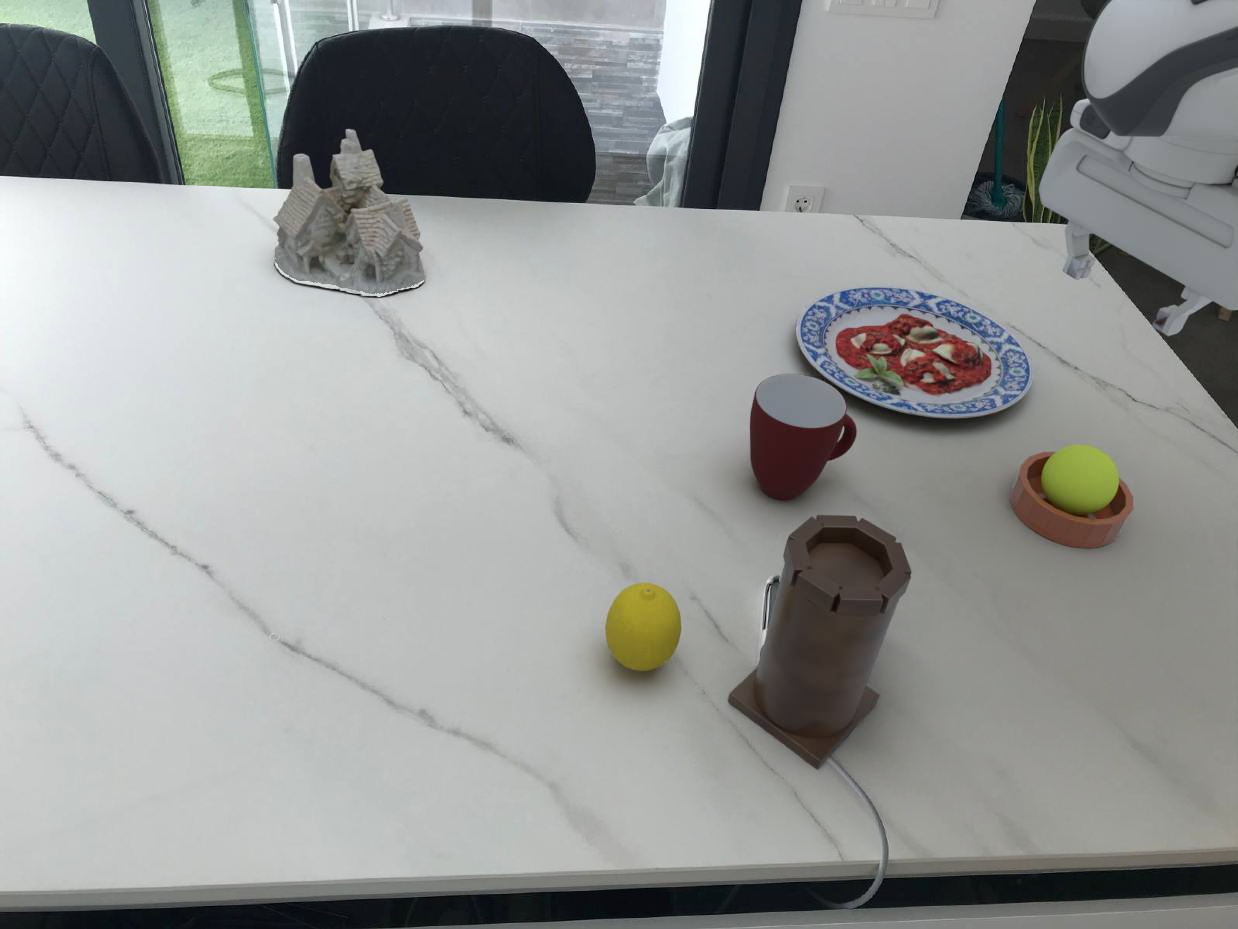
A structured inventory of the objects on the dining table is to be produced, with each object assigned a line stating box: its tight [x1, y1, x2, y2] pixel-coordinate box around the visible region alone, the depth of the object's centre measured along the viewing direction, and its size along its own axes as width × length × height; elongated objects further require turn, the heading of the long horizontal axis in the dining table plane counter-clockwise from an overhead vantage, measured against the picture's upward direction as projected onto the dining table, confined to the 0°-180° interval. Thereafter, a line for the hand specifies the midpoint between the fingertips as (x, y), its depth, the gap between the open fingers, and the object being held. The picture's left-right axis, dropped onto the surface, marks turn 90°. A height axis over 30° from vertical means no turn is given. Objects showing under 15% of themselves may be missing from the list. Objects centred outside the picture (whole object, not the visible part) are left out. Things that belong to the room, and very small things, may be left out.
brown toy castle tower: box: [727, 514, 913, 770], centre depth 67 cm, size 8×8×16 cm
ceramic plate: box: [795, 285, 1034, 419], centre depth 108 cm, size 26×26×3 cm
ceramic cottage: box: [272, 128, 426, 294], centre depth 111 cm, size 16×16×15 cm
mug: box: [749, 373, 858, 501], centre depth 88 cm, size 11×8×10 cm
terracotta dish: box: [1009, 451, 1134, 549], centre depth 90 cm, size 10×10×3 cm
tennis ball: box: [1041, 444, 1120, 515], centre depth 89 cm, size 6×6×6 cm
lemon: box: [604, 582, 682, 672], centre depth 72 cm, size 6×6×8 cm
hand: (1118, 301), depth 81 cm, fingers open, 8 cm apart
